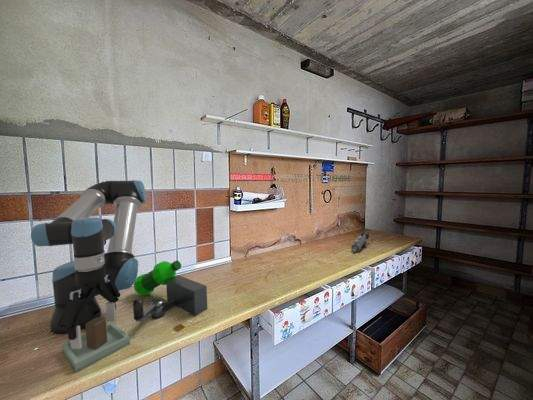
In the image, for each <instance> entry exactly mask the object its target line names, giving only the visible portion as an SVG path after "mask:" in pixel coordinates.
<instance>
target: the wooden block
mask: <svg viewBox="0 0 533 400" xmlns="http://www.w3.org/2000/svg"><path fill="white" fill-rule="evenodd" d="M106 325H107V318H104V317H96V318H94V319H93V320H91V321H89V322H87V323H86V324H85V328H84V329H85V334H86V340H87V347H88V348H92V349H97V348H99V347H100V346H102V345H103V344H105V343H106V342H107V329H106Z"/></svg>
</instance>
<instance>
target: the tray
mask: <svg viewBox="0 0 533 400" xmlns="http://www.w3.org/2000/svg"><path fill="white" fill-rule="evenodd" d="M106 329H107V342H106V343H105V344H103V345H102V346H100V347H99V348H97V349H92V348H88V347H87V340H86V333H84V334H81V342H82V347H81V348H80V349H72V348H71V341H70V340H68V341H65V342H64V343H61V352H62V354H63V355H64V357H65V358H66V360H67V361H68V363H69V364H70V366H72V368H73V370H74V372H75V373H78V372H80V371H82V370H84V369H86V368H88V367H90V366H91V365H93V364H95V363H98V362H99V361H101V360H102V359H105V358H107V357H108V356H110V355H112V354H114V353H116V352H118V351H120V350H122V349H123V348H125V347H126V346H128V345H131V338H130V335H128V334H127V333H126V332H125V331H124V330H122V329H121V328H120V327H119V326H118V325H116V324H115V322H108V323H106Z"/></svg>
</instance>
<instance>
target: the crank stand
mask: <svg viewBox="0 0 533 400" xmlns="http://www.w3.org/2000/svg"><path fill="white" fill-rule="evenodd" d="M165 286H166V302H165V301H164V305H163V306H161V307H159V308H156V309H155V310H154V311H153V312H152V313H151V314H150V318H151V319H152V320H157V319H161V318H163V317H164V316H165V314H166V313H165V312H167V311H169V310H171V309H173V308H175V307H176V308H179V309H181V310H182V311H184V312H186V313H188V314H191V315H192V316H194V317H196V316H198V315H201V314H202V313H203V312H206V311H207V310H208V291H207V290H208V289H207V285H206V284H203V283H200V282H197V281H195V280H192V279H189V278H188V277H185V276H184V277H183V276H182V275H175V277H172V278H170V279H167V280H166V285H165ZM185 328H186V325H183V324H182V323H179V324H177V325H176V326H174V327H172V330H174V331H176V332H180V331H182V330H183V329H185Z"/></svg>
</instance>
